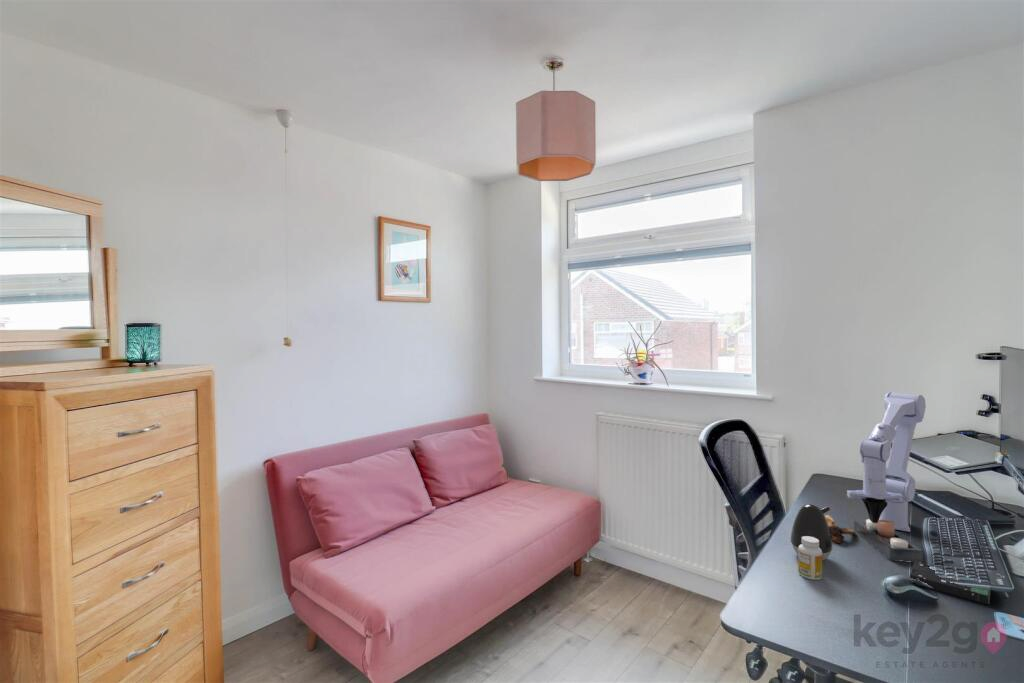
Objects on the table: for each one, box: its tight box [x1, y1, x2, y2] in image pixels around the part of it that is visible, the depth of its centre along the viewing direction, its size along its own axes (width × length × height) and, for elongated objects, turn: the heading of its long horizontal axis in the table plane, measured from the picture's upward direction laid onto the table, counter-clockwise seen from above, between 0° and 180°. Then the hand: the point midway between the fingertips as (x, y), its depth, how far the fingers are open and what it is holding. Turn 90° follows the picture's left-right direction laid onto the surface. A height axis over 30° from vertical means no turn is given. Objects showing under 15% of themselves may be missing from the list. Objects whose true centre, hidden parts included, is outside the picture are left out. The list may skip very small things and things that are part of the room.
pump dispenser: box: [790, 503, 834, 562], centre depth 139 cm, size 10×10×15 cm
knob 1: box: [865, 518, 878, 528], centre depth 153 cm, size 4×4×4 cm
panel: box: [853, 519, 924, 563], centre depth 146 cm, size 21×8×4 cm, turn 168°
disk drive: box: [909, 562, 991, 604], centre depth 123 cm, size 10×3×15 cm
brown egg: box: [878, 520, 896, 538], centre depth 146 cm, size 4×4×4 cm
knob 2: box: [890, 538, 908, 548], centre depth 139 cm, size 4×4×4 cm
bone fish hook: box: [824, 514, 856, 544], centre depth 154 cm, size 9×5×18 cm
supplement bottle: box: [797, 536, 823, 581], centre depth 129 cm, size 5×5×10 cm
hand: (873, 521), depth 153 cm, fingers closed, pressing on knob 1
